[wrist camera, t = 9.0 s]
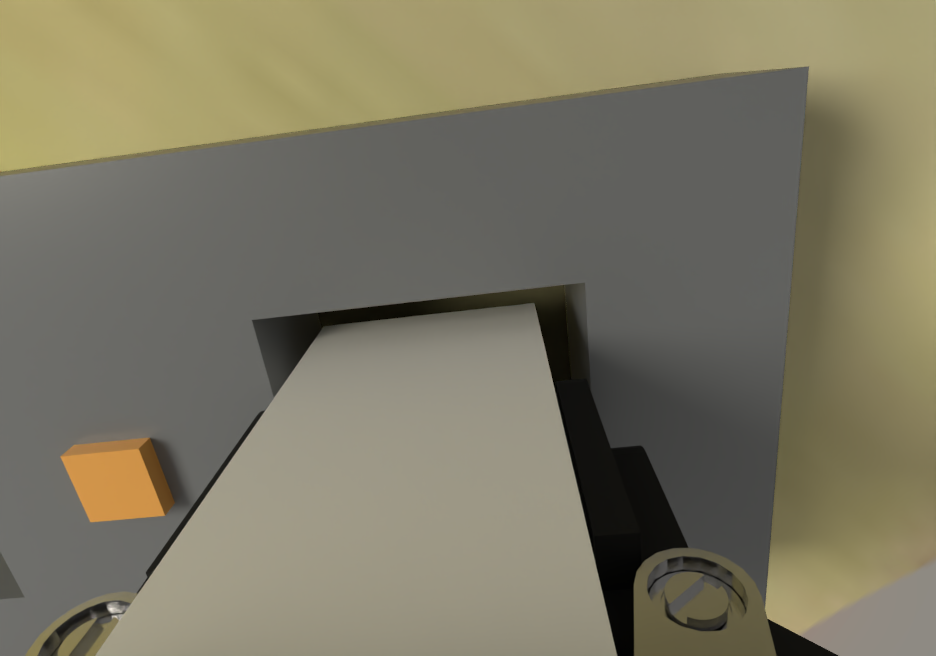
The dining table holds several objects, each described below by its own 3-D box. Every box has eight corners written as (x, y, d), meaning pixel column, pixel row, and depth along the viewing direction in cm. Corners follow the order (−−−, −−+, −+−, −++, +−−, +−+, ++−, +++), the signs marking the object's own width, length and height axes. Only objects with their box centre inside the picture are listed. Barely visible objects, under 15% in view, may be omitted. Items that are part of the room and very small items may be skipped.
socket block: (-393, 225, 14) (-704, 272, 10) (721, 73, 12) (823, 65, 8) (-138, 601, 18) (-291, 726, 15) (707, 534, 16) (769, 658, 13)
